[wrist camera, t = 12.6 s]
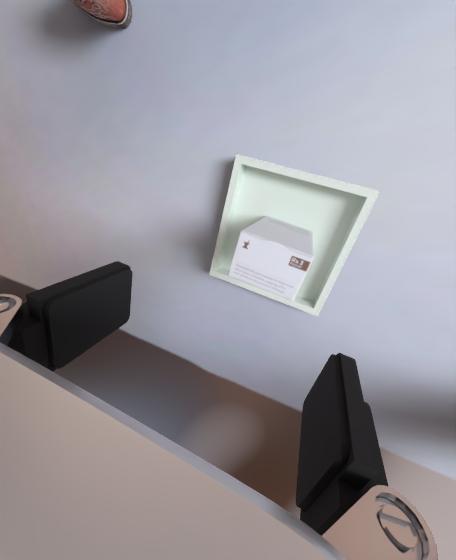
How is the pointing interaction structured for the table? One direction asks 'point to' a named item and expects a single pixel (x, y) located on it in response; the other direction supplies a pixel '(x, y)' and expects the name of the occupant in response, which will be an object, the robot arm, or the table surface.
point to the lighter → (108, 11)
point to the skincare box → (273, 256)
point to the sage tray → (293, 221)
